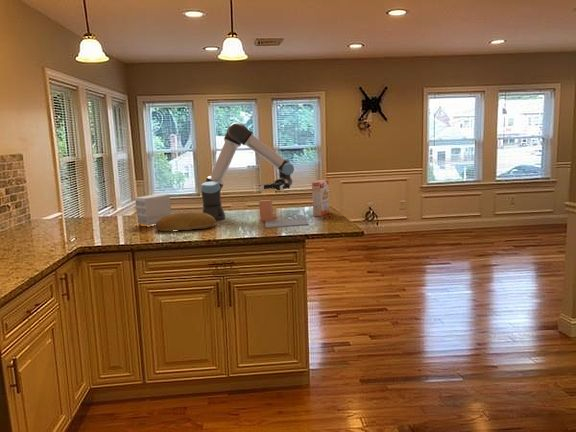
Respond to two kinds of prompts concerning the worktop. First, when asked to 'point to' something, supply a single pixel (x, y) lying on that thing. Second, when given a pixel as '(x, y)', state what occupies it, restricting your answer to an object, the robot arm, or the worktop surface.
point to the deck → (266, 210)
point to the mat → (286, 223)
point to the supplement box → (152, 208)
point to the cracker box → (320, 197)
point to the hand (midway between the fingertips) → (270, 188)
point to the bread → (185, 221)
